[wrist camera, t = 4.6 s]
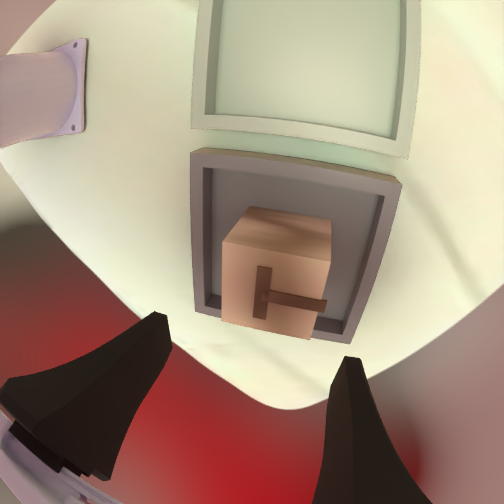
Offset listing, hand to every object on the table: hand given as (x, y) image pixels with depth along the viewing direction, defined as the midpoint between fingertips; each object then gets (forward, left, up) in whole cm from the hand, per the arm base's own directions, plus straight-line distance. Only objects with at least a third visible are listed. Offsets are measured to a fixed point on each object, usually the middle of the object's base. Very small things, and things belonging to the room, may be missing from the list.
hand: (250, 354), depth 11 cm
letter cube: (0, 0, -9) cm, 9 cm away
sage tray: (0, +13, -9) cm, 16 cm away
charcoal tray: (0, 0, -9) cm, 9 cm away
